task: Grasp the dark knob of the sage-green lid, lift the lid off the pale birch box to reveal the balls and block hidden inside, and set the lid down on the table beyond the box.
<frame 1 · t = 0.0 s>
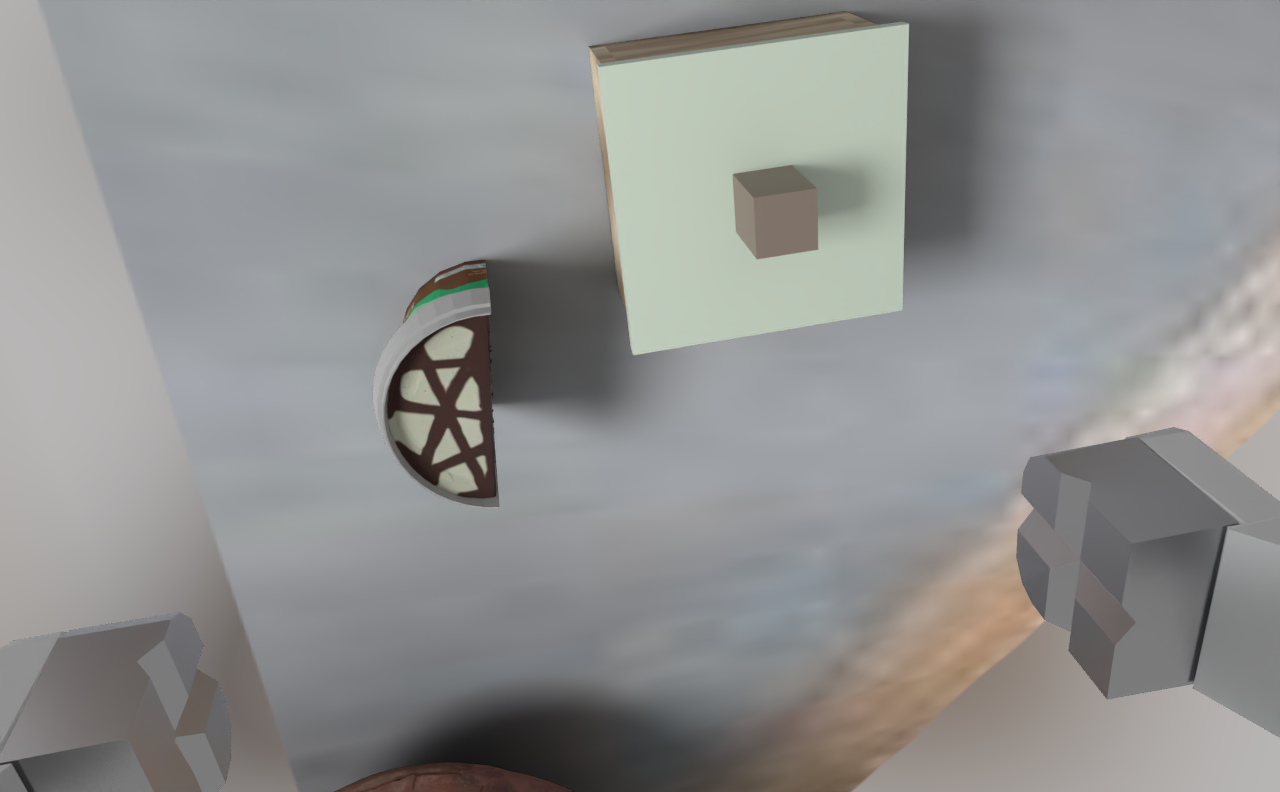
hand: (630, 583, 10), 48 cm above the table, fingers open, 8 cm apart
lid: (759, 194, 52), point 7 cm above the table, touching box
food container: (435, 335, 60), on the table
box: (726, 158, 58), on the table
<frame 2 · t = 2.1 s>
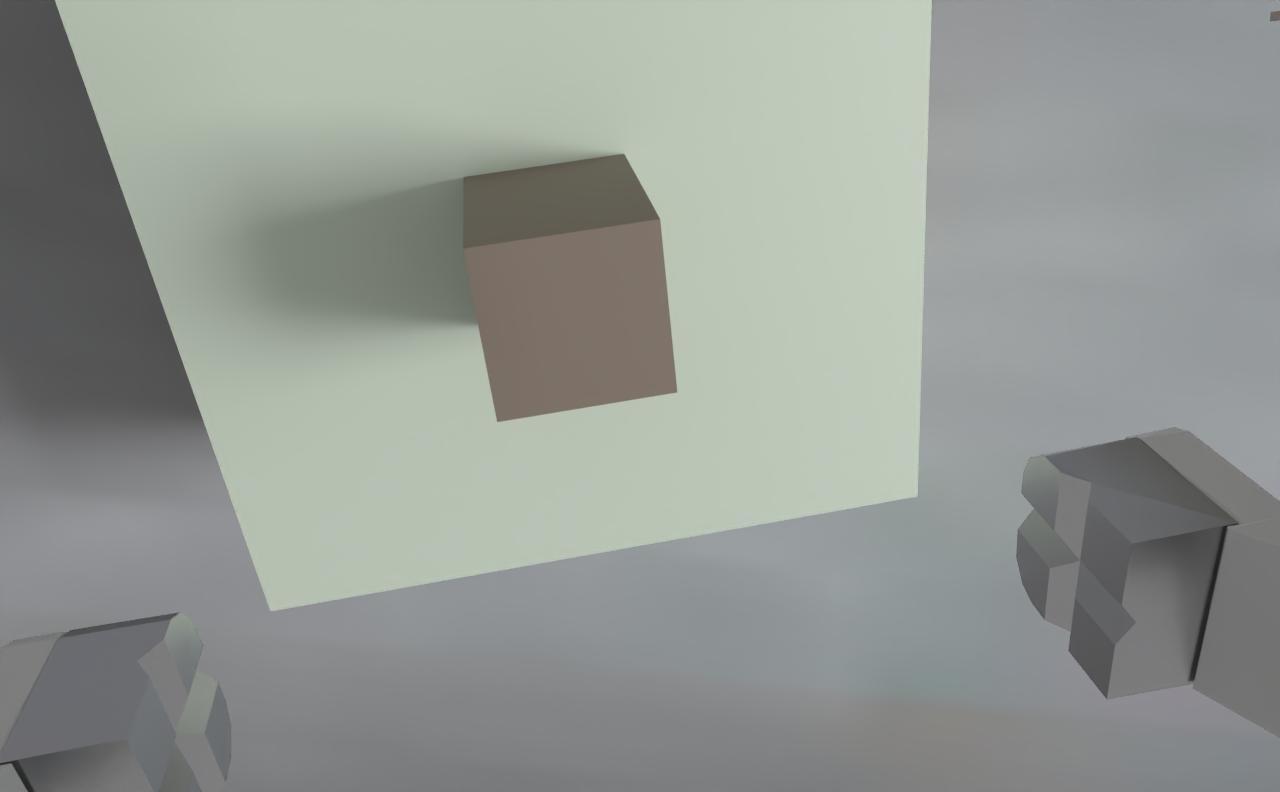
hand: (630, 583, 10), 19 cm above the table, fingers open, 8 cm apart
lid: (552, 229, 20), point 7 cm above the table, touching box
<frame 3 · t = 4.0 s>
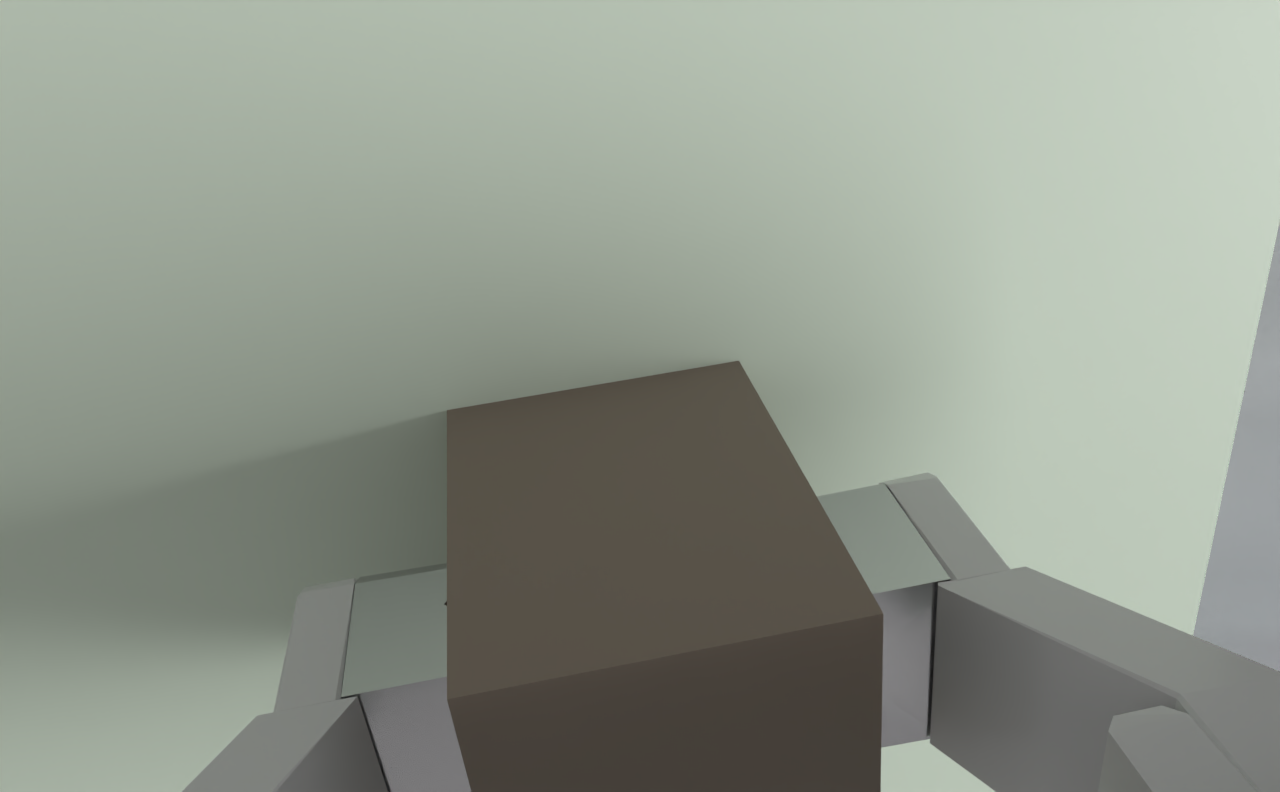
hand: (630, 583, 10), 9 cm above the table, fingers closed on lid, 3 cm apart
lid: (602, 467, 12), point 7 cm above the table, touching box, gripper
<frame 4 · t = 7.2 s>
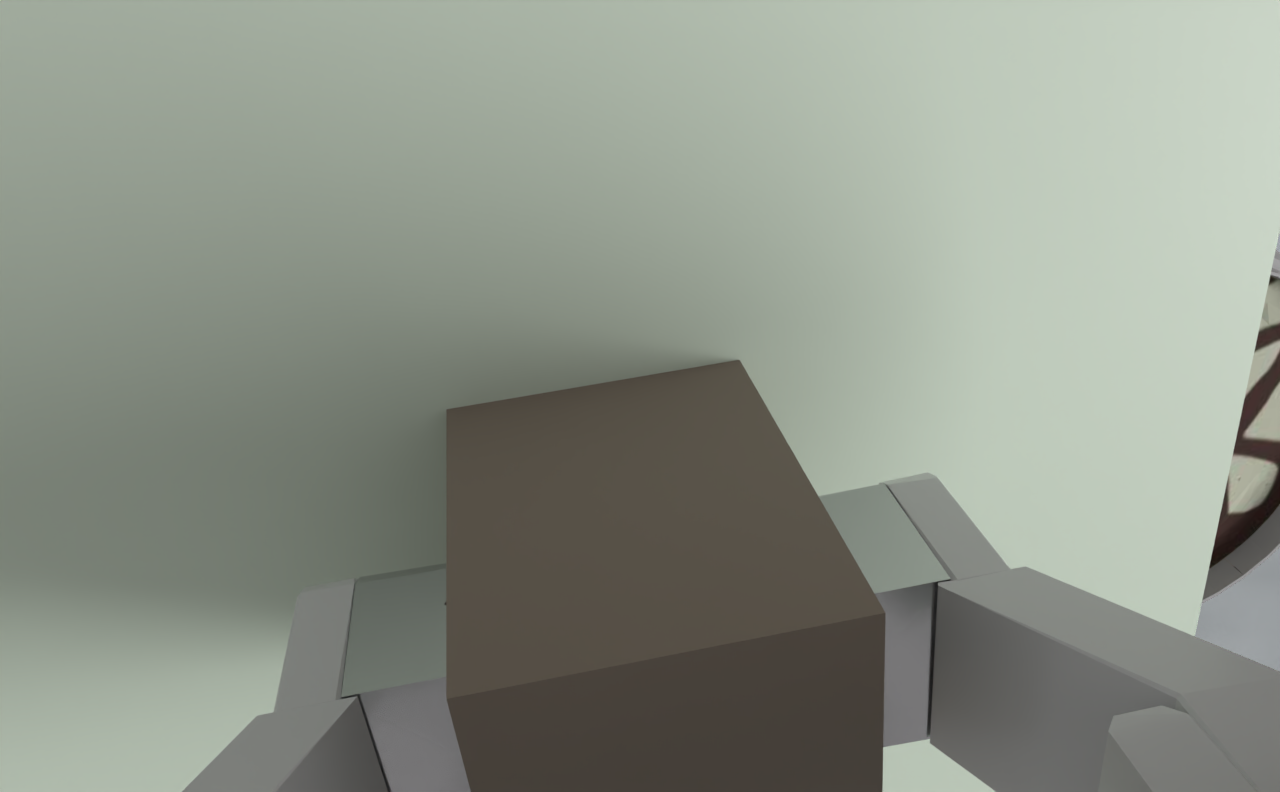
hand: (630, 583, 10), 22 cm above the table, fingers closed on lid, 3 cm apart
lid: (602, 467, 12), point 20 cm above the table, touching gripper
food container: (1062, 311, 36), on the table
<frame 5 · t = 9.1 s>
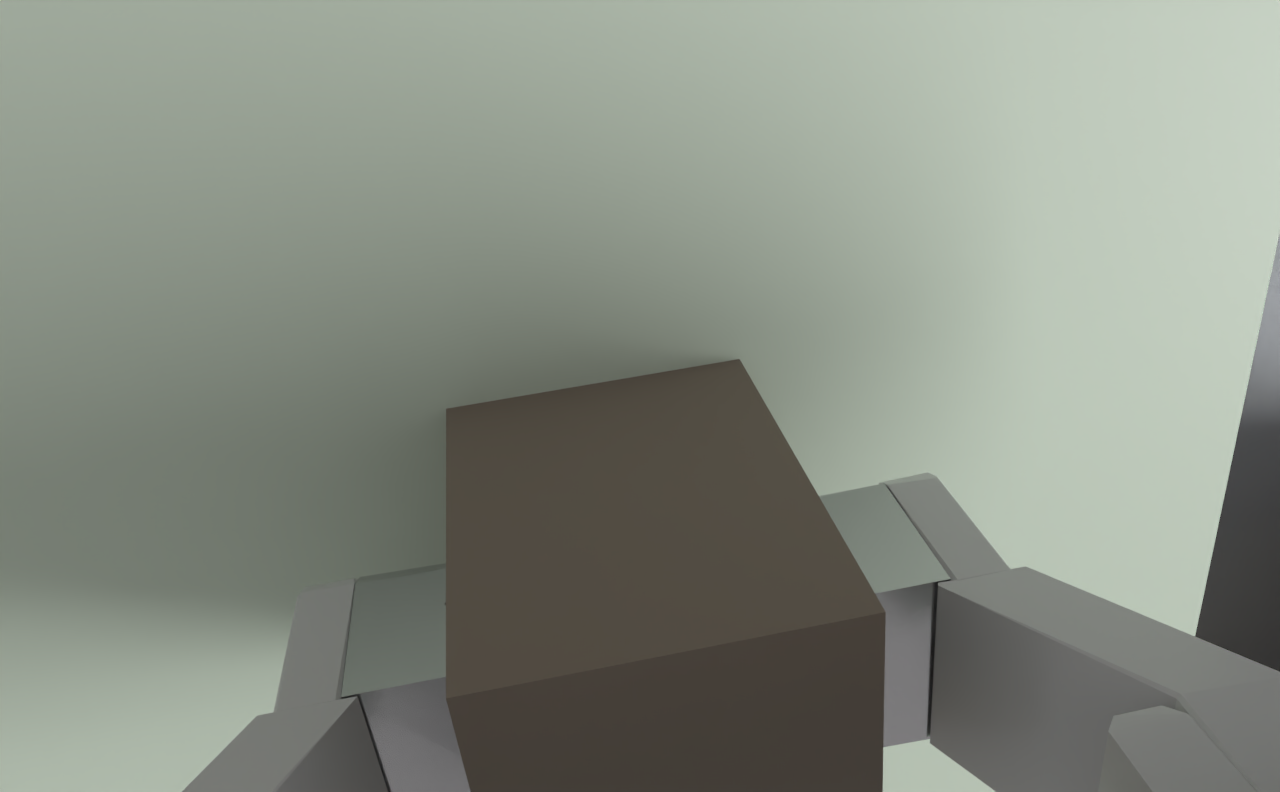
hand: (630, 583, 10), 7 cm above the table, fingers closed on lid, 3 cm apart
lid: (602, 466, 12), point 5 cm above the table, touching gripper
when the fingers open (4 cm above the table, at t = 10.5 s): lid drops 2 cm, on the table.
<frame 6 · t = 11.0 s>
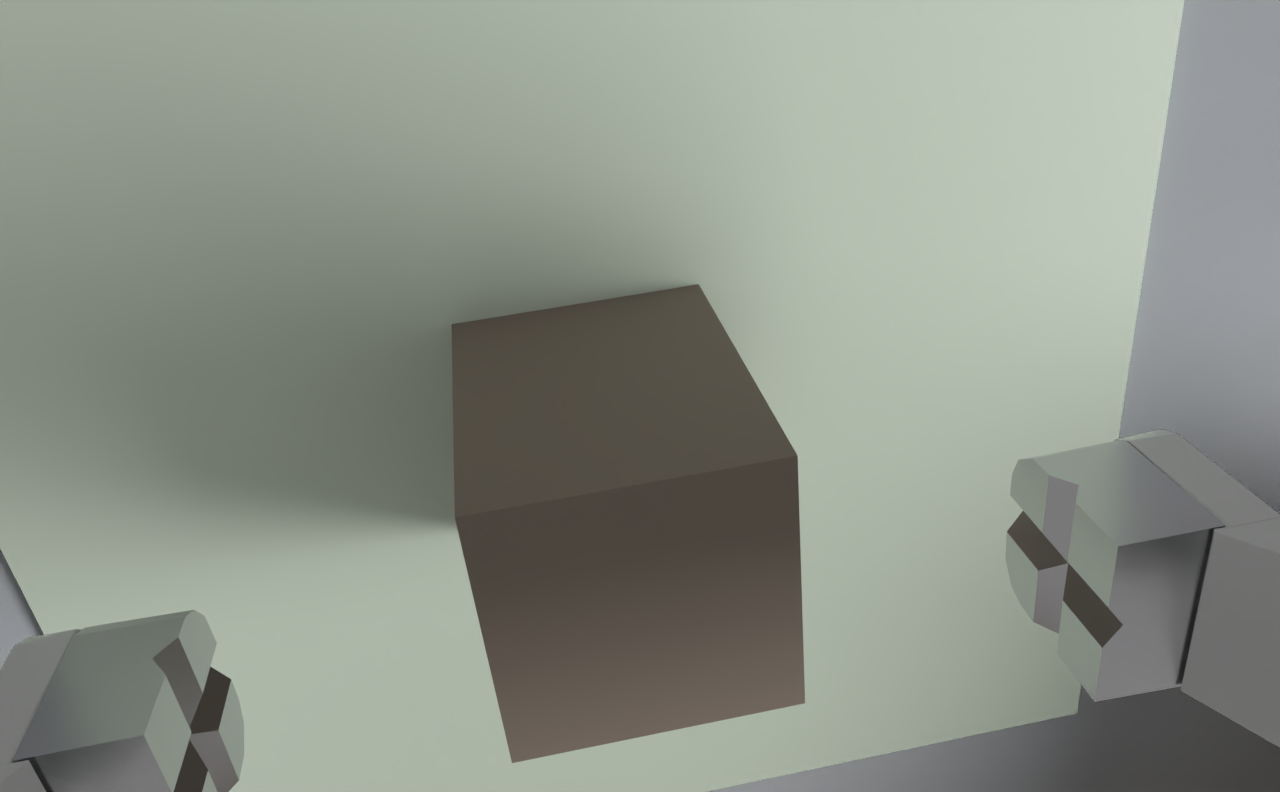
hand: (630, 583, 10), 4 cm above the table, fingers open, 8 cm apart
lid: (584, 382, 14), on the table
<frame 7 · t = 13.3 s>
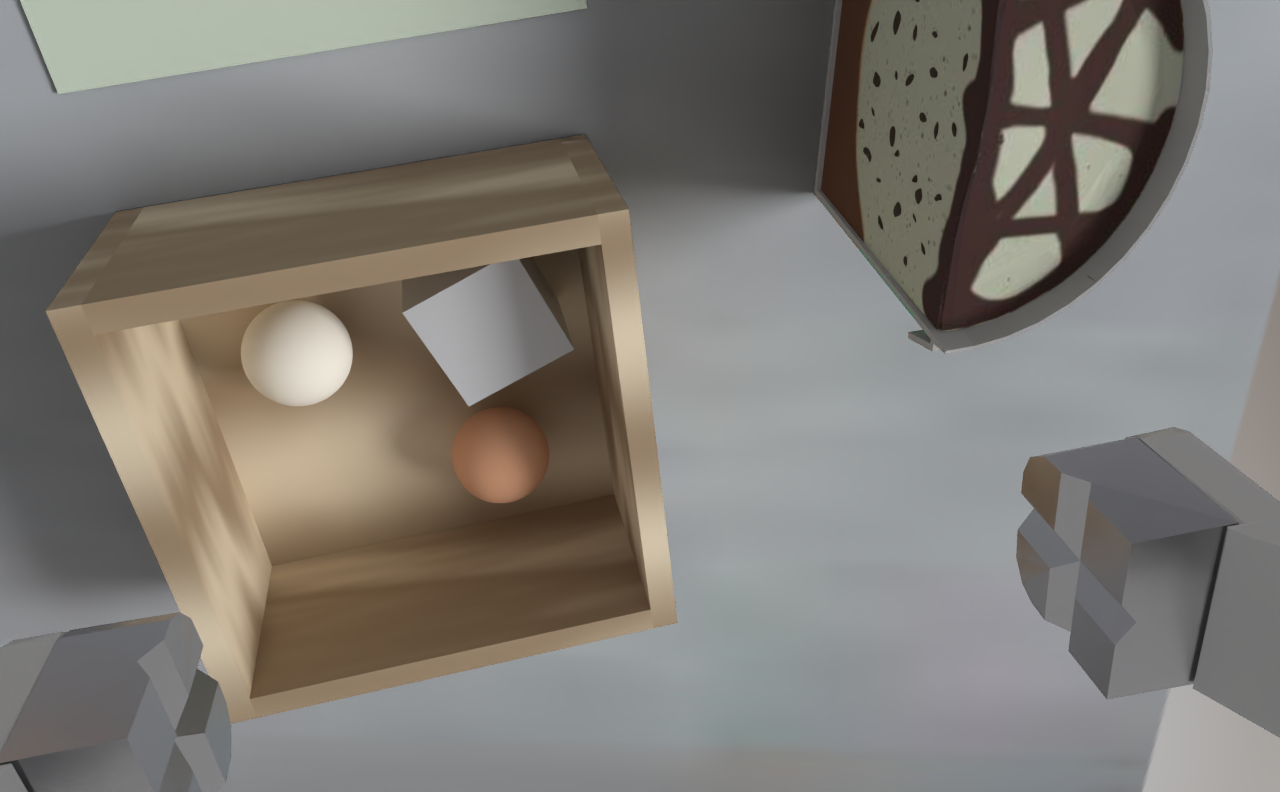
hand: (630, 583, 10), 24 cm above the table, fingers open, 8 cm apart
ball terracotta: (497, 430, 35), point 1 cm above the table, touching box
grey block: (482, 282, 33), point 1 cm above the table, touching box
ball cream: (301, 330, 32), point 1 cm above the table, touching box
food container: (918, 45, 33), on the table
box: (408, 373, 34), on the table
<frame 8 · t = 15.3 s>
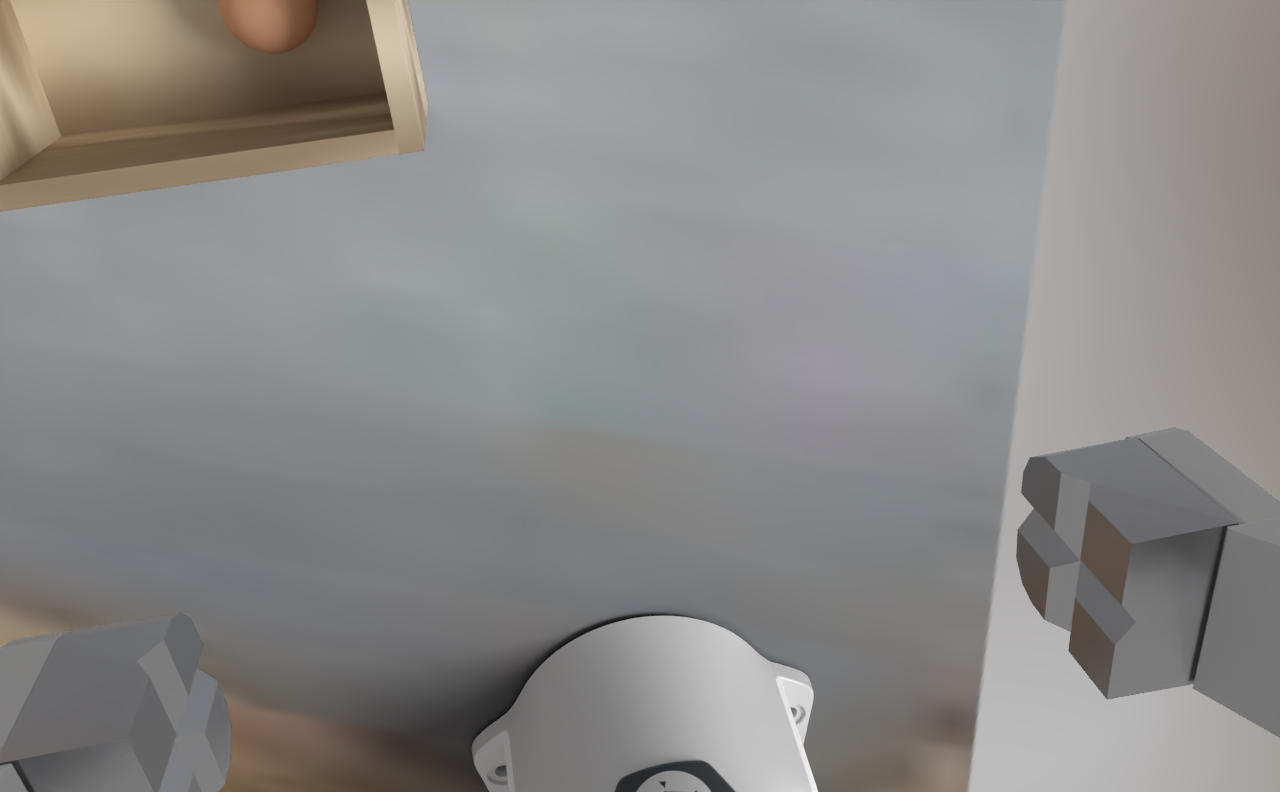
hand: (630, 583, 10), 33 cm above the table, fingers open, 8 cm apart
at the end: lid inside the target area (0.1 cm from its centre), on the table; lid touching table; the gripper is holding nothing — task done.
